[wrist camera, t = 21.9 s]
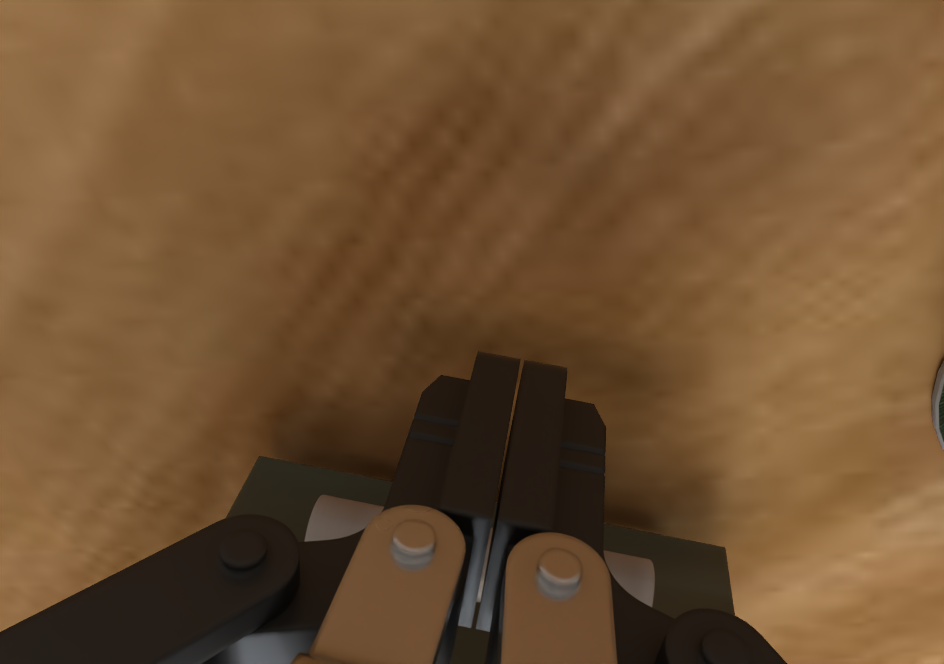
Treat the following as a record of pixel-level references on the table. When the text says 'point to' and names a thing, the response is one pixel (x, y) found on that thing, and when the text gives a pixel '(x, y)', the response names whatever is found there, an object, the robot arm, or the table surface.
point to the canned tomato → (939, 405)
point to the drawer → (362, 498)
